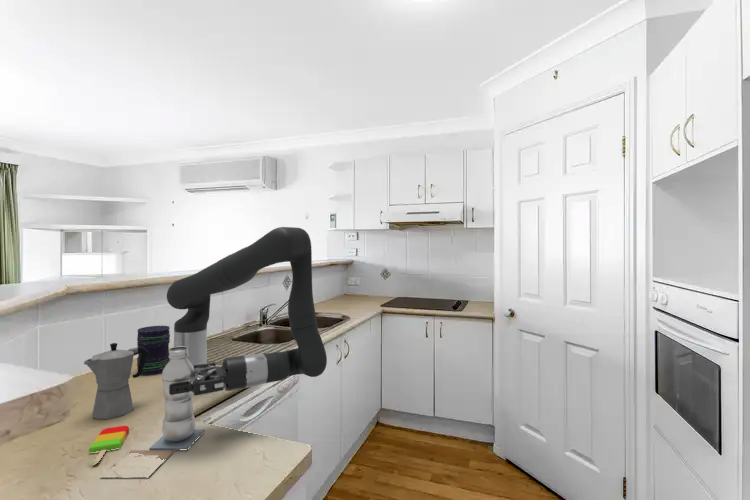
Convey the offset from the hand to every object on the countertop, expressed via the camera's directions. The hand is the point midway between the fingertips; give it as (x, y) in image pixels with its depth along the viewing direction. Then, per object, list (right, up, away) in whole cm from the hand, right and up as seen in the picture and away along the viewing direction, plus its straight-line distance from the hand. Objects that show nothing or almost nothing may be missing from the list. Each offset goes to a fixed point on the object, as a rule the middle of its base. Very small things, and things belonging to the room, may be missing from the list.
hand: (168, 383), depth 82 cm
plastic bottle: (+2, -13, +1) cm, 13 cm away
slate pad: (+2, -13, +1) cm, 13 cm away
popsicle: (-12, -14, -2) cm, 19 cm away
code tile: (-1, -13, -8) cm, 16 cm away
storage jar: (-32, -13, +49) cm, 60 cm away
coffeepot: (-23, -13, +17) cm, 31 cm away
